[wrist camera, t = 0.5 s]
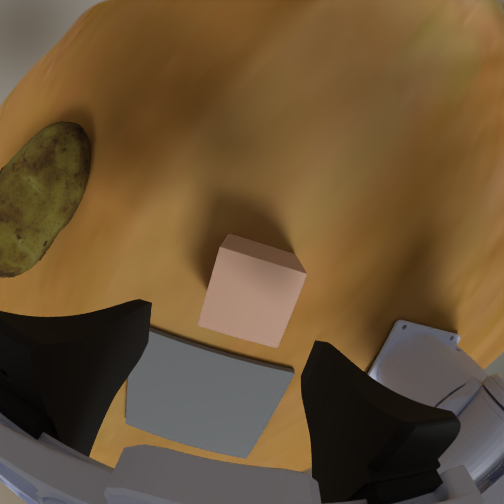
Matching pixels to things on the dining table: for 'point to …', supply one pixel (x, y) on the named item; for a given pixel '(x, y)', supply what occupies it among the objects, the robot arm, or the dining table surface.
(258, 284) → the cube
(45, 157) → the potato
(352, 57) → the dining table surface
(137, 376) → the mat
